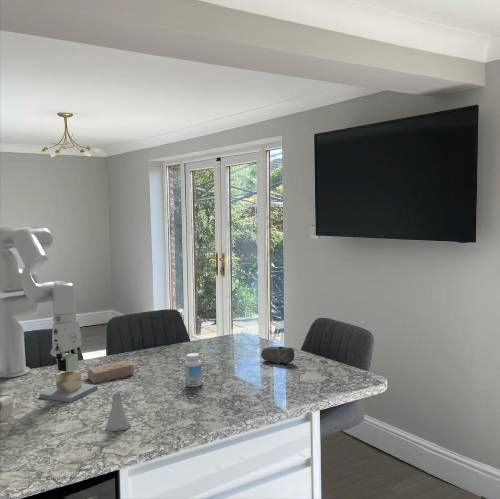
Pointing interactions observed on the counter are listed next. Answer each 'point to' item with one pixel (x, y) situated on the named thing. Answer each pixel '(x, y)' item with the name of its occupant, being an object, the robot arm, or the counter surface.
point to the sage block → (70, 362)
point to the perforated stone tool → (278, 355)
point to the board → (67, 396)
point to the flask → (117, 415)
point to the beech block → (68, 381)
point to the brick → (110, 371)
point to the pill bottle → (193, 370)
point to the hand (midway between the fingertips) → (67, 367)
